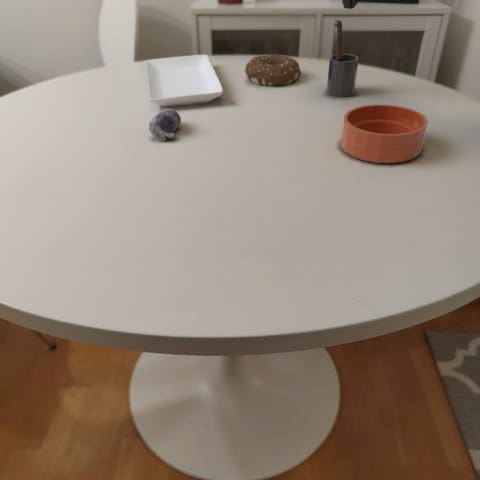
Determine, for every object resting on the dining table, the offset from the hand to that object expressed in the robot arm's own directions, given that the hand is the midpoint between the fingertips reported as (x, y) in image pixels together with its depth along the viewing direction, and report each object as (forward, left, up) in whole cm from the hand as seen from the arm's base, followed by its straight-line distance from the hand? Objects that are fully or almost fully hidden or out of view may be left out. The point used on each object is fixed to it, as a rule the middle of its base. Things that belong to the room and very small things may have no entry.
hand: (349, 7), depth 94 cm
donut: (+2, -19, -18) cm, 26 cm away
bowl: (+19, +22, -18) cm, 34 cm away
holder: (0, 0, -18) cm, 18 cm away
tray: (+20, -33, -18) cm, 42 cm away
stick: (0, 0, -17) cm, 17 cm away
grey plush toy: (+40, -14, -18) cm, 46 cm away
